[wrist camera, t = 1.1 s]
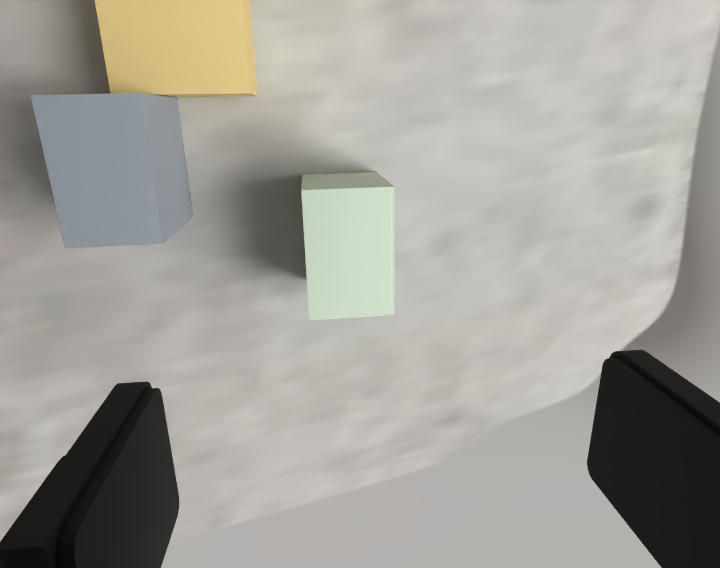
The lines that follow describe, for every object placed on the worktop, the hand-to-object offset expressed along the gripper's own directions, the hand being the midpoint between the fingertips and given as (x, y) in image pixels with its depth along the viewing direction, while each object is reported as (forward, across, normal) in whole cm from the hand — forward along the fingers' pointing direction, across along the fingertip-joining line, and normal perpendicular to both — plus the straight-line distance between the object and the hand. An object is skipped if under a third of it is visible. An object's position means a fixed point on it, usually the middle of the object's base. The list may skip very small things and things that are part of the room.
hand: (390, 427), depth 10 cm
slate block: (+18, +10, -4) cm, 21 cm away
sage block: (+18, 0, 0) cm, 19 cm away
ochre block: (+19, +7, -11) cm, 23 cm away
